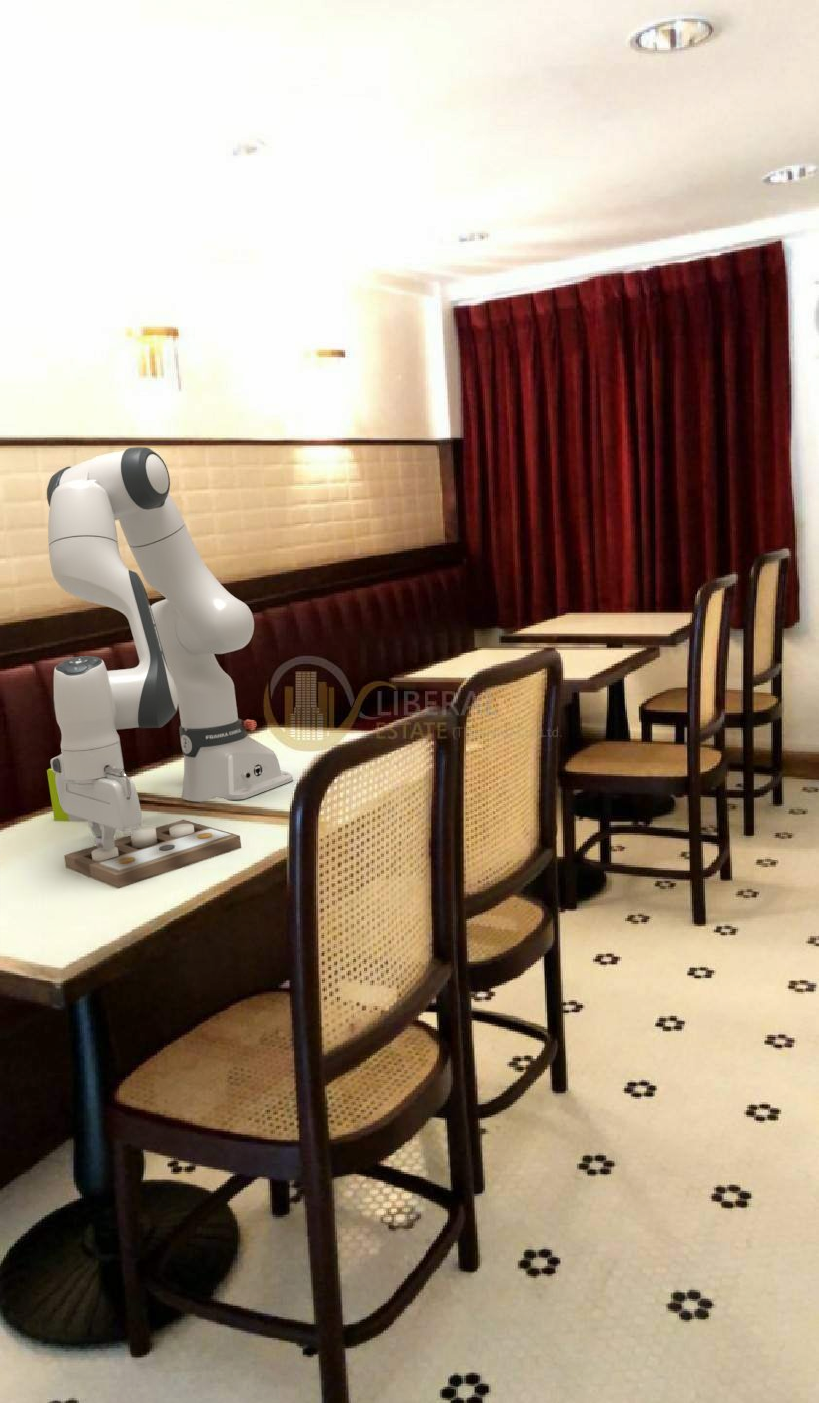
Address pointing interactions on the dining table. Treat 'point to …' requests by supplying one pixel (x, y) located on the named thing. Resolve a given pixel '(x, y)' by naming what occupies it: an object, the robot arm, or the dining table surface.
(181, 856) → the console
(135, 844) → the middle button
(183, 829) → the button
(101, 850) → the button
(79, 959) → the dining table surface
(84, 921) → the dining table surface
